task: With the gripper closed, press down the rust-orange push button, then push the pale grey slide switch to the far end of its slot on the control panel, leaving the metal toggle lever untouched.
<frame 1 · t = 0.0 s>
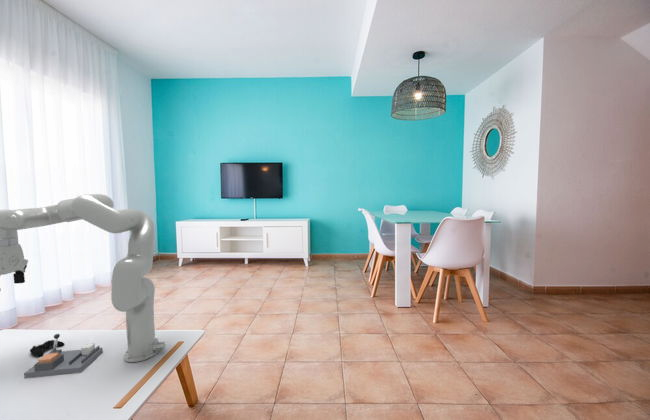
hand: (7, 287, 104), 31 cm above the table, tool pointing down, fingers open, 9 cm apart
toggle lever: (55, 342, 111), point 7 cm above the table, hinge at 20.0°
slide switch: (88, 349, 111), point 4 cm above the table, slide at 0.0 cm
game controller: (46, 351, 117), on the table
control panel: (66, 364, 107), on the table
push button: (49, 358, 103), point 5 cm above the table, slide at 0.0 cm
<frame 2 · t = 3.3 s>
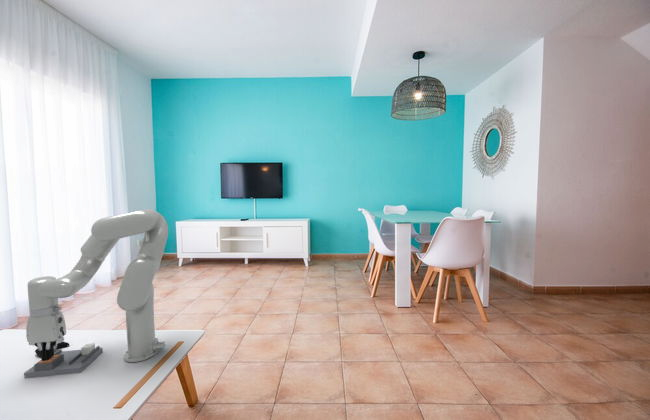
hand: (47, 358, 103), 5 cm above the table, tool pointing down, fingers closed
game controller: (51, 352, 116), on the table
push button: (49, 360, 103), point 4 cm above the table, slide at 0.8 cm, touching gripper
everything else where it was.
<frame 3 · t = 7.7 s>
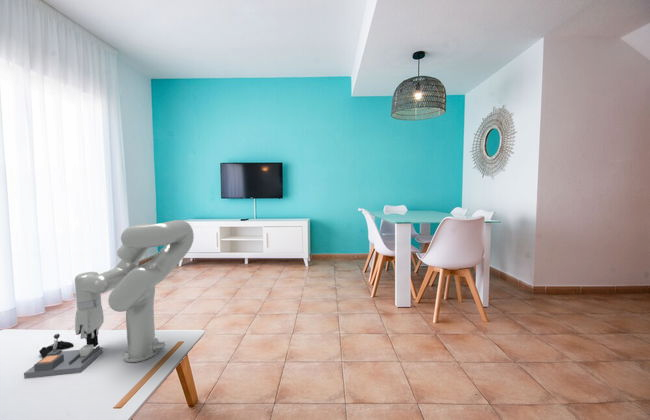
hand: (92, 346, 113), 4 cm above the table, tool pointing down, fingers closed
slide switch: (86, 350, 110), point 4 cm above the table, slide at 0.8 cm, touching gripper
game controller: (55, 352, 116), on the table
push button: (49, 361, 103), point 4 cm above the table, slide at 1.0 cm
everything else where it was.
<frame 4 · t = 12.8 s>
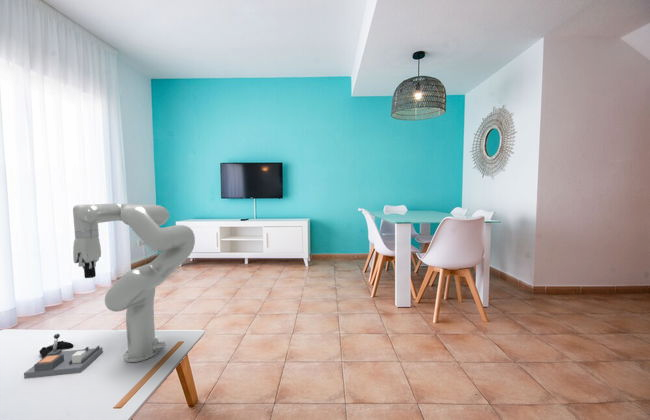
hand: (90, 277, 116), 31 cm above the table, tool pointing down, fingers closed
slide switch: (79, 356, 106), point 4 cm above the table, slide at 5.1 cm
everything else where it was.
at the end: push button slide at 1.0 cm; slide switch slide at 5.1 cm; toggle lever at +20° (first picture: +20°) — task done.
